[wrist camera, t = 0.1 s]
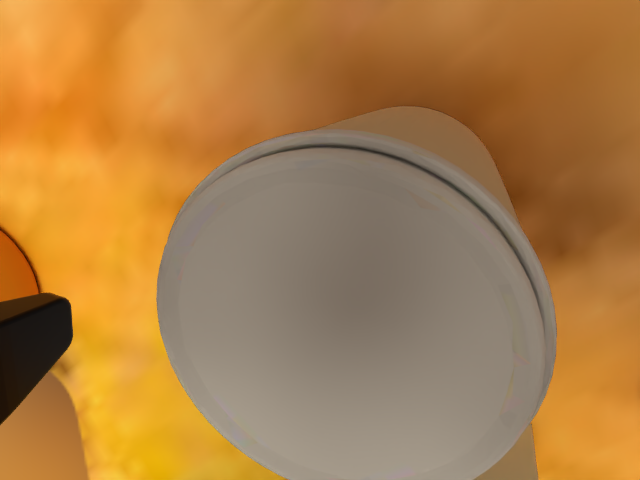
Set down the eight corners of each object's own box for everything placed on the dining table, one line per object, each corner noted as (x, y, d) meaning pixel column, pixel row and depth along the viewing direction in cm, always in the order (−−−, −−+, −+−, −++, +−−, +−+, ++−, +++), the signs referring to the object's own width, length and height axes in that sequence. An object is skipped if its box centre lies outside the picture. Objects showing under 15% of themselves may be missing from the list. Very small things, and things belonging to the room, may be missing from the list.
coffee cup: (290, 257, 24) (139, 428, 14) (324, 61, 20) (148, 88, 10) (479, 316, 22) (473, 568, 12) (558, 113, 18) (655, 218, 8)
